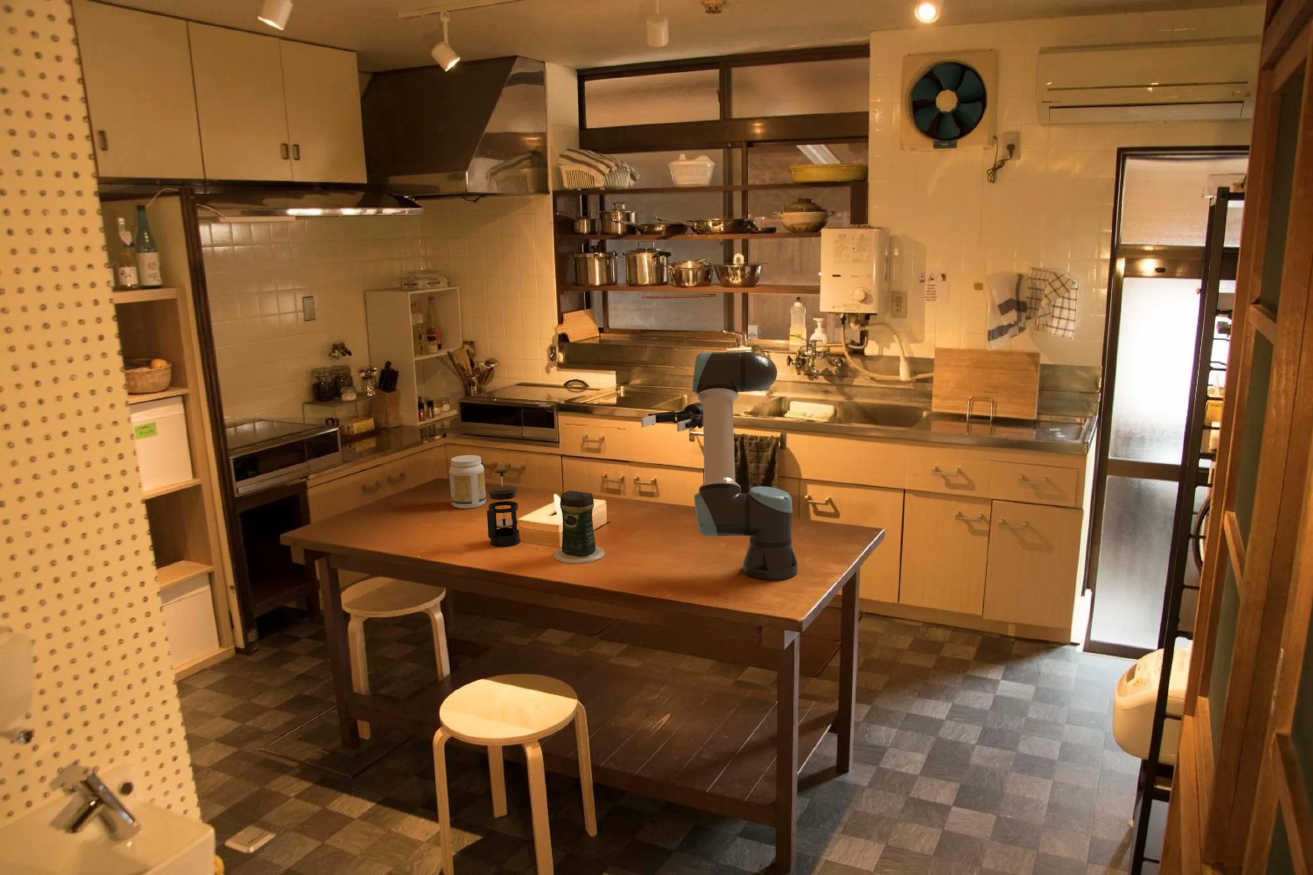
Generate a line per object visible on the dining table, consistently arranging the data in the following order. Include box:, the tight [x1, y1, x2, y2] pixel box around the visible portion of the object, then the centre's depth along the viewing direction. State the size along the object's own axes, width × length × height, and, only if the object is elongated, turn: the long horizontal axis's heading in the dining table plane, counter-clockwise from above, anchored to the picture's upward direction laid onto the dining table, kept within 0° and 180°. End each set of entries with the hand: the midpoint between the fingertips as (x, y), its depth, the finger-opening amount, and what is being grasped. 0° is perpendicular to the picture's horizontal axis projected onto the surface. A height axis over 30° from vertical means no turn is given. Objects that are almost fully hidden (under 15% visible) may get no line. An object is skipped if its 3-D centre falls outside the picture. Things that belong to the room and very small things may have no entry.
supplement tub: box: [448, 454, 487, 510], centre depth 335 cm, size 12×12×17 cm
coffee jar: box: [559, 490, 596, 556], centre depth 279 cm, size 10×8×19 cm
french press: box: [486, 468, 521, 548], centre depth 292 cm, size 12×9×23 cm
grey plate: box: [553, 545, 605, 565], centre depth 281 cm, size 15×15×1 cm
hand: (659, 425), depth 293 cm, fingers open, 13 cm apart
